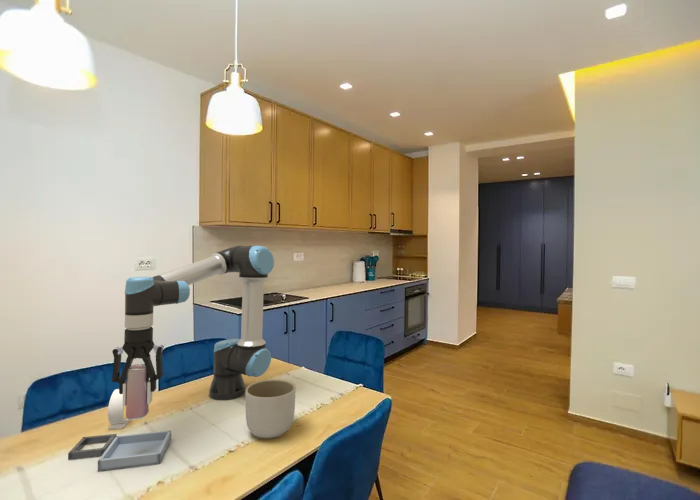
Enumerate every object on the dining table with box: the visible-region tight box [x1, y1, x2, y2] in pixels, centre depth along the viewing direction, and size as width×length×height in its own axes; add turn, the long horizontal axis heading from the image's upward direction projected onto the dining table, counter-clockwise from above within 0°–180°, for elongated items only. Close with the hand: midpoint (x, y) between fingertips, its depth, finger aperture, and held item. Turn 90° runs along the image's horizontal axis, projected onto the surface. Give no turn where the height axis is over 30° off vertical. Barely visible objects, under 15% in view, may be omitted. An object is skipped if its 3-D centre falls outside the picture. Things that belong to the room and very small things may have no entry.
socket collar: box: [67, 433, 118, 461], centre depth 112 cm, size 10×10×2 cm
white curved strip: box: [107, 388, 130, 430], centre depth 127 cm, size 5×6×12 cm
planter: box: [244, 378, 297, 440], centre depth 125 cm, size 17×17×15 cm
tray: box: [97, 429, 172, 473], centre depth 110 cm, size 16×14×3 cm
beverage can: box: [125, 363, 150, 420], centre depth 110 cm, size 6×6×15 cm
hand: (137, 402), depth 110 cm, fingers closed on beverage can, 6 cm apart
